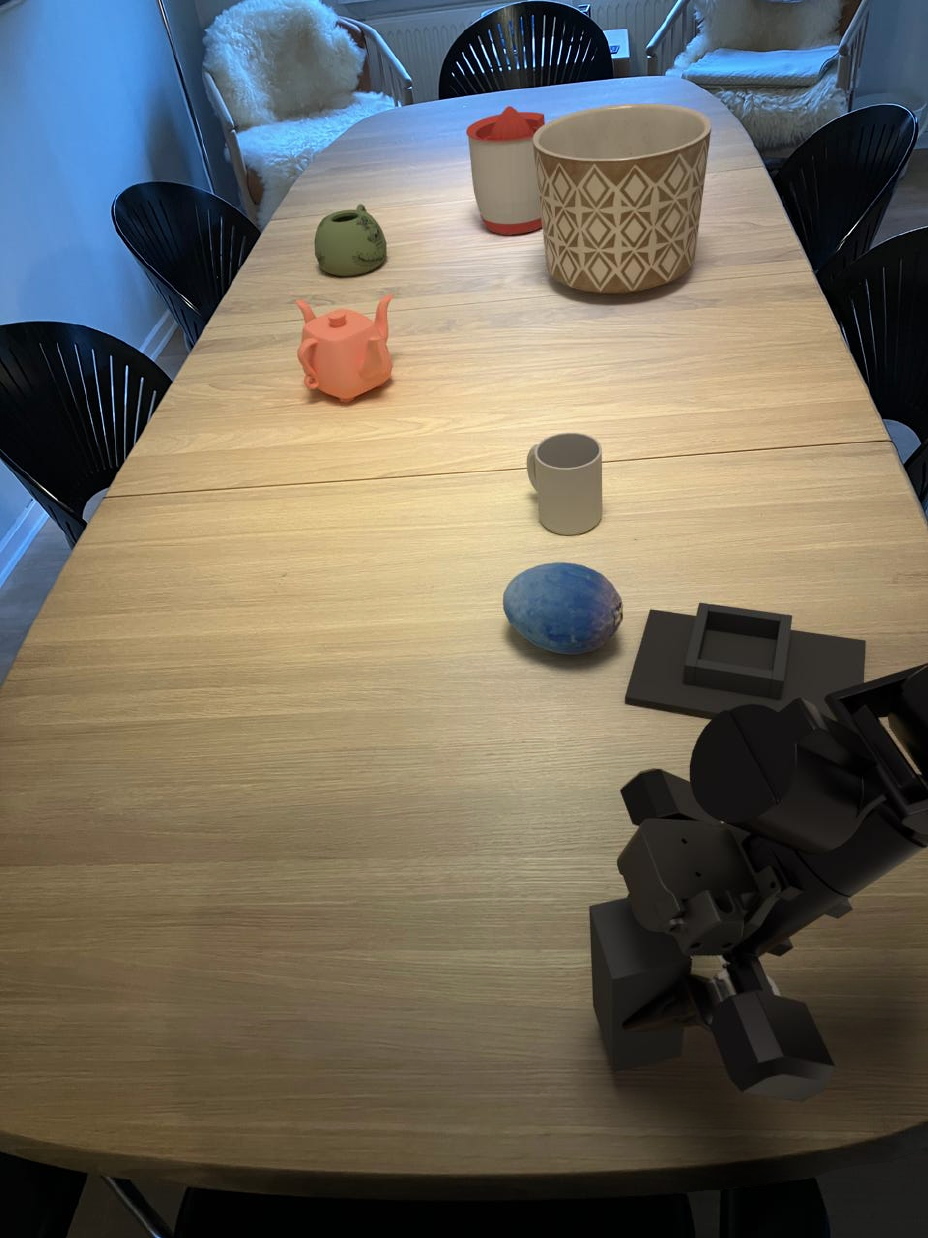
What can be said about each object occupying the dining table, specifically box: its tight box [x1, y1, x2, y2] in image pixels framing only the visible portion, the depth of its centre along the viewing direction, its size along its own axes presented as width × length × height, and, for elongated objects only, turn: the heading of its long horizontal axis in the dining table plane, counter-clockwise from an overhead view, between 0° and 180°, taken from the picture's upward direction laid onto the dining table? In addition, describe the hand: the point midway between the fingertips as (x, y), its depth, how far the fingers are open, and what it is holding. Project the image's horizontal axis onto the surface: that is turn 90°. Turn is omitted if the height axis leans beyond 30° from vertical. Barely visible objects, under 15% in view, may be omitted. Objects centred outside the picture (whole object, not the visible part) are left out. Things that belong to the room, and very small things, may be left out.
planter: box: [533, 103, 712, 296], centre depth 144 cm, size 26×26×22 cm
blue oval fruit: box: [502, 561, 624, 655], centre depth 88 cm, size 9×9×15 cm
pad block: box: [588, 896, 693, 1073], centre depth 56 cm, size 4×4×13 cm
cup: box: [525, 432, 603, 536], centre depth 103 cm, size 7×10×9 cm
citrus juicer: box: [465, 105, 546, 236], centre depth 165 cm, size 16×17×20 cm
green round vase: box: [314, 203, 388, 277], centre depth 164 cm, size 16×13×9 cm
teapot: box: [295, 293, 394, 403], centre depth 130 cm, size 14×14×11 cm
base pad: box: [624, 602, 867, 721], centre depth 84 cm, size 20×12×4 cm, turn 71°
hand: (615, 989), depth 56 cm, fingers closed on pad block, 4 cm apart
